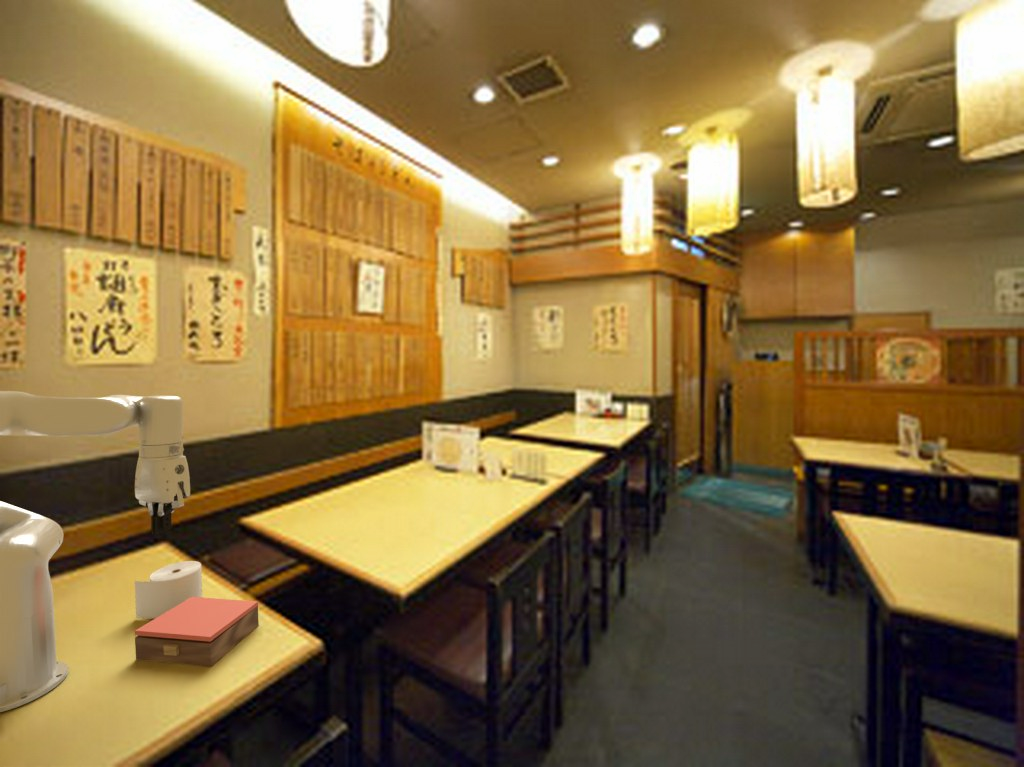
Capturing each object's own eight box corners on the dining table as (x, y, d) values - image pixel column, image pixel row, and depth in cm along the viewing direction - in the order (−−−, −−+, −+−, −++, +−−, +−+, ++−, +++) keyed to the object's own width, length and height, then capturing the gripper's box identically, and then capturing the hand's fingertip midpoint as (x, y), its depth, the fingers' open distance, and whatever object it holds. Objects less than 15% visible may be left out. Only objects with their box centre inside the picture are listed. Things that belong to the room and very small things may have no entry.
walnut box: (208, 668, 88) (208, 645, 87) (133, 661, 90) (132, 639, 89) (258, 625, 102) (258, 605, 102) (192, 620, 104) (191, 600, 104)
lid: (210, 641, 88) (210, 636, 88) (135, 635, 90) (134, 630, 90) (258, 605, 102) (258, 601, 102) (191, 600, 104) (191, 596, 104)
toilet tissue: (212, 599, 114) (211, 563, 113) (165, 625, 102) (164, 586, 101) (182, 593, 116) (181, 558, 116) (134, 618, 105) (132, 580, 104)
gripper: (205, 449, 95) (205, 528, 96) (150, 445, 98) (150, 522, 98) (173, 456, 88) (173, 541, 88) (115, 451, 90) (115, 535, 91)
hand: (161, 531), depth 93 cm, fingers closed
